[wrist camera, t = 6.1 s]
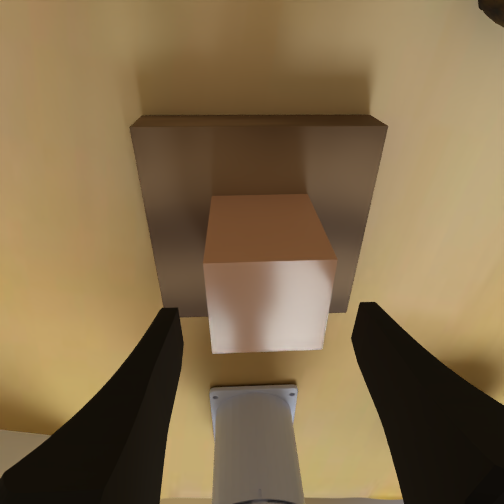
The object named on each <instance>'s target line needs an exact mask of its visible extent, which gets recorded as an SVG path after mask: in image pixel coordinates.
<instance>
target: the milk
mask: <svg viewBox="0 0 504 504" xmlns="http://www.w3.org/2000/svg"><path fill="white" fill-rule="evenodd" d="M50 436H51V435H45V434H36V433H27V432H18V431H10V430H1V429H0V478H1V477H2V475H3V473H4V472H5V471H6V470H8V469H9V468H11V467H12V466H13V465H15V464H16V463H17V462H19V461H20V460H21V459H22V458H24V457H25V456H26V455H28V454H29V453H30V452H32V451H33V450H34V449H36V448H37V447H38V446H39V445H41V444H42V443H43V442H44V441H46V440H47V439H48V438H49V437H50Z"/></svg>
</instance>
